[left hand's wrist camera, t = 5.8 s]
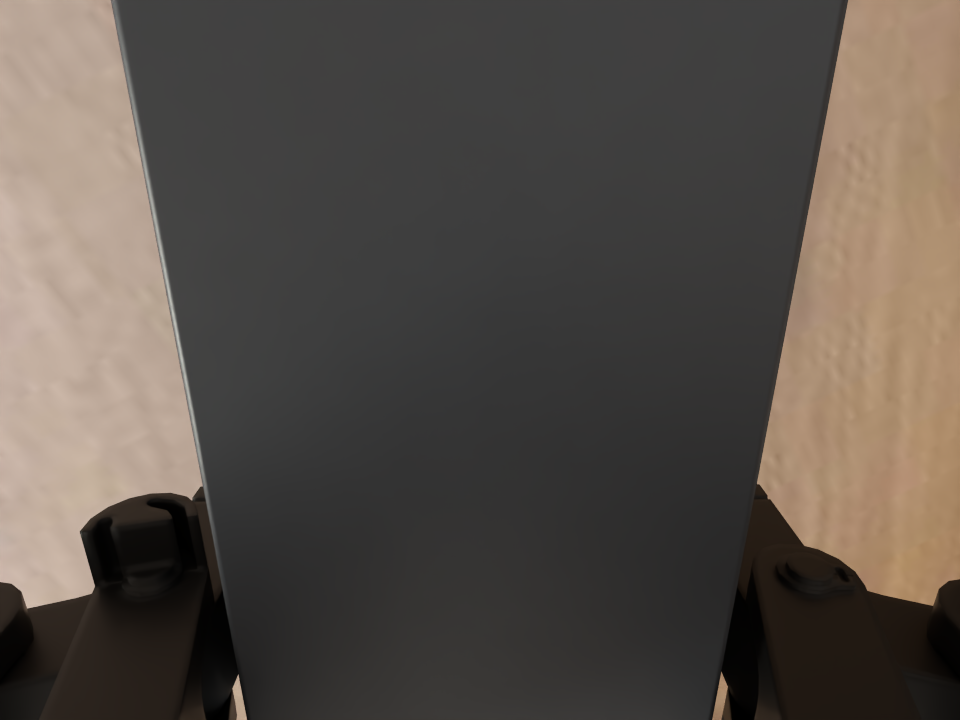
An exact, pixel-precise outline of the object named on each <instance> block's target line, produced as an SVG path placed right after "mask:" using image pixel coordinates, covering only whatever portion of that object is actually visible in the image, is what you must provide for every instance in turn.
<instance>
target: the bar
mask: <svg viewBox="0 0 960 720" xmlns="http://www.w3.org/2000/svg"><path fill="white" fill-rule="evenodd" d="M111 3H112V8H113V13H114V18H115V24H116V29H117V34H118V40H119V45H120V50H121V55H122V61H123V66H124V71H125V77H126V82H127V87H128V92H129V98H130V103H131V108H132V114H133V119H134V124H135V129H136V135H137V140H138V145H139V151H140V156H141V161H142V166H143V172H144V177H145V182H146V187H147V193H148V198H149V203H150V209H151V214H152V219H153V224H154V230H155V235H156V240H157V246H158V251H159V256H160V261H161V267H162V272H163V277H164V283H165V288H166V293H167V298H168V304H169V309H170V314H171V320H172V325H173V330H174V335H175V341H176V346H177V351H178V357H179V362H180V367H181V372H182V378H183V383H184V388H185V394H186V399H187V404H188V409H189V415H190V420H191V425H192V431H193V436H194V441H195V446H196V452H197V457H198V462H199V468H200V473H201V478H202V483H203V489H204V494H205V499H206V505H207V510H208V515H209V520H210V526H211V531H212V536H213V542H214V547H215V552H216V557H217V563H218V568H219V573H220V579H221V584H222V589H223V594H224V600H225V605H226V610H227V616H228V621H229V626H230V631H231V637H232V642H233V647H234V653H235V658H236V663H237V668H238V674H239V679H240V684H241V690H242V695H243V700H244V705H245V711H246V716H247V720H712V717H713V712H714V707H715V702H716V696H717V691H718V686H719V680H720V675H721V670H722V665H723V659H724V654H725V649H726V643H727V638H728V633H729V627H730V622H731V617H732V612H733V606H734V601H735V596H736V590H737V585H738V580H739V575H740V569H741V564H742V559H743V553H744V548H745V543H746V537H747V532H748V527H749V522H750V516H751V511H752V506H753V500H754V495H755V490H756V485H757V479H758V474H759V469H760V463H761V458H762V453H763V447H764V442H765V437H766V432H767V426H768V421H769V416H770V410H771V405H772V400H773V395H774V389H775V384H776V379H777V373H778V368H779V363H780V357H781V352H782V347H783V342H784V336H785V331H786V326H787V320H788V315H789V310H790V305H791V299H792V294H793V289H794V283H795V278H796V273H797V267H798V262H799V257H800V252H801V246H802V241H803V236H804V230H805V225H806V220H807V215H808V209H809V204H810V199H811V193H812V188H813V183H814V177H815V172H816V167H817V162H818V156H819V151H820V146H821V140H822V135H823V130H824V125H825V119H826V114H827V109H828V103H829V98H830V93H831V87H832V82H833V77H834V72H835V66H836V61H837V56H838V50H839V45H840V40H841V35H842V29H843V24H844V19H845V13H846V8H847V3H848V0H111Z"/></svg>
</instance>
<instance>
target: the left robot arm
mask: <svg viewBox="0 0 960 720" xmlns="http://www.w3.org/2000/svg"><path fill="white" fill-rule="evenodd" d="M80 534H81V538H82V541H83V545H84V548H85V552H86V555H87V559H88V562H89V566H90V570H91V573H92V577H93V580H94V584H95V588H94V590H93V593H92V594H89V595H86V596H82V597H79V598H75V599H70V600H66V601H61V602H56V603H52V604H47V605H42V606H38V607H33V608H29V609H27V607H26V604H25V601H24V598H23V595H22V592H21V591H20V590H18V589H17V588H16V587H15V586H13V585H12V584H9V583H2V582H0V720H236V718H237V713H236V706H235V700H234V695H233V690H232V688H233V685H234V683H235V681H236V678H237V676H238V668H237V663H236V658H235V653H234V647H233V642H232V637H231V631H230V626H229V621H228V616H227V610H226V605H225V600H224V594H223V589H222V584H221V579H220V573H219V568H218V563H217V557H216V552H215V547H214V542H213V536H212V531H211V526H210V520H209V515H208V510H207V505H206V499H205V494H204V489H203V487H200V488H199V490H198V491H197V492H196V494H195V495H194V497H193V500H192V501H191V500H190V499H189V498H188V497H186V496H182V495H177V494H173V493H156V494H147V495H143V496H138V497H134V498H129V499H127V500H124V501H122V502H120V503H117V504H115V505H112V506H110V507H108V508H106V509H105V510H103V511H102V512H100V513H99V514H97V515H96V516H94V517H93V518H91V519H90V520H89V521H88V523H87V524H86V525H85V526H84V527H83V528H82V530H81V531H80ZM721 671H722V674H723V676H724V678H725V681H726V683H727V686H728V690H727V695H726V700H725V705H724V710H723V715H722V720H960V579H959V580H953V581H948V582H947V583H946V584H945V585H943V586H942V587H941V588H940V589H939V591H938V594H937V597H936V600H935V603H934V605H933V606H930V605H926V604H921V603H916V602H912V601H907V600H902V599H898V598H893V597H888V596H884V595H880V594H877V593H873V592H869V591H867V589H866V587H865V585H864V584H863V582H862V581H861V579H860V578H859V577H858V575H857V574H856V572H855V571H854V570H852V569H851V568H850V567H848V566H847V565H846V564H844V563H843V562H842V561H840V560H839V559H837V558H835V557H833V556H831V555H829V554H827V553H825V552H822V551H820V550H818V549H814V548H810V547H806V546H804V545H803V544H802V542H801V541H800V540H799V538H798V537H797V535H796V534H795V533H794V531H793V530H792V529H791V527H790V526H789V524H788V523H787V522H786V520H785V519H784V518H783V516H782V515H781V514H780V512H779V511H778V509H777V508H776V507H775V505H774V504H773V503H772V501H771V500H770V499H768V498H767V494H766V493H765V492H764V490H763V489H762V487H761V486H760V485H756V490H755V495H754V500H753V506H752V511H751V516H750V522H749V527H748V532H747V537H746V543H745V548H744V553H743V559H742V564H741V569H740V575H739V580H738V585H737V590H736V596H735V601H734V606H733V612H732V617H731V622H730V627H729V633H728V638H727V643H726V649H725V654H724V659H723V665H722V670H721Z"/></svg>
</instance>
